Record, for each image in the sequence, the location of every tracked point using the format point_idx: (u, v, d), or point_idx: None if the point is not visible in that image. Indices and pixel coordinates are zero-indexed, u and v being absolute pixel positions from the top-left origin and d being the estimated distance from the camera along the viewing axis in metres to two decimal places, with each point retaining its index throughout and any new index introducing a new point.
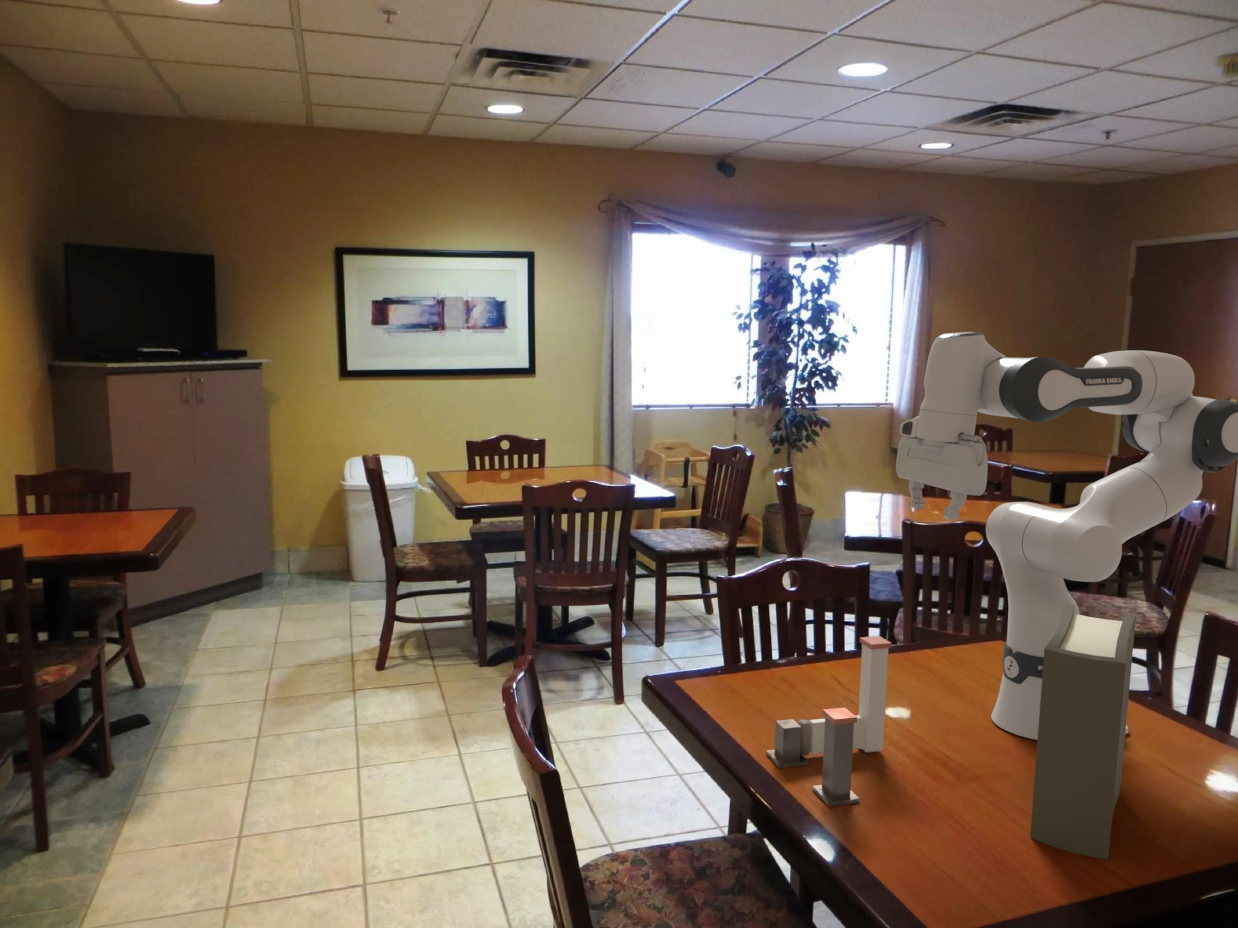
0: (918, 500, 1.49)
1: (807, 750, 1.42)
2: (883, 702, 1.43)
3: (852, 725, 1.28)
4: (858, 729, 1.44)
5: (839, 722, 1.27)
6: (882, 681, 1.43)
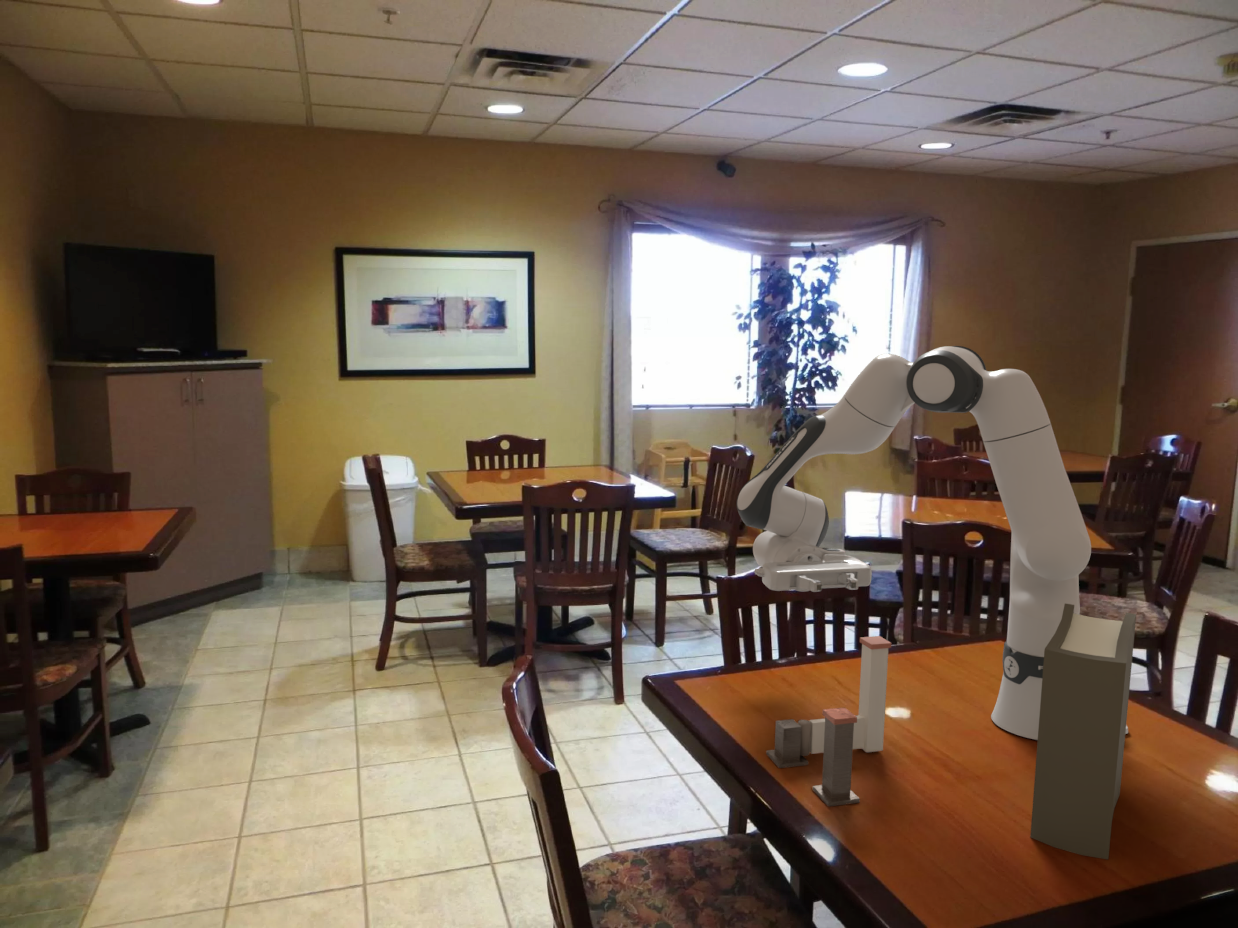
0: (846, 585, 1.58)
1: (807, 750, 1.42)
2: (883, 702, 1.43)
3: (852, 725, 1.28)
4: (858, 729, 1.44)
5: (839, 722, 1.27)
6: (882, 681, 1.43)
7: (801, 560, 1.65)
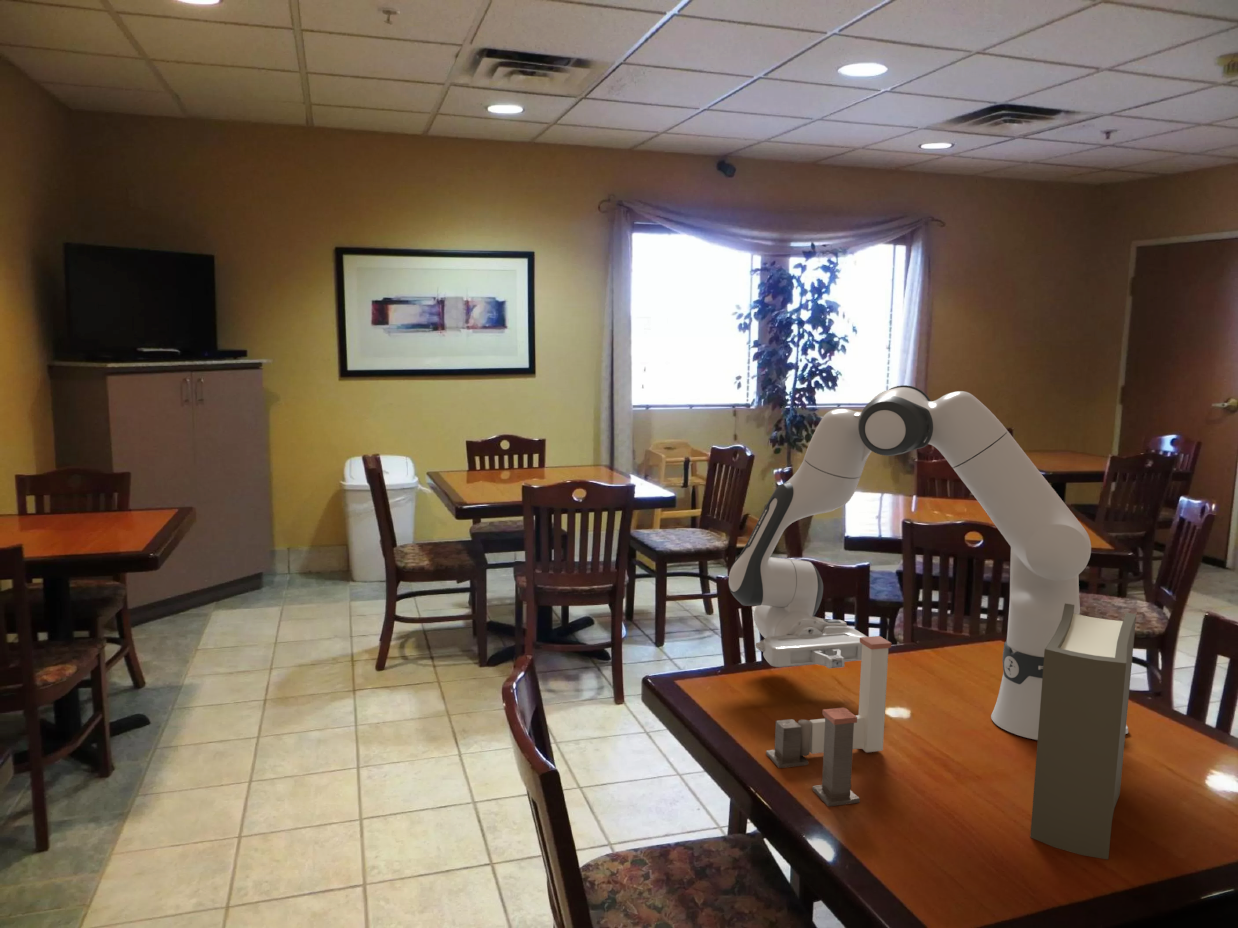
0: None
1: (807, 750, 1.42)
2: (883, 702, 1.43)
3: (852, 725, 1.28)
4: (858, 729, 1.44)
5: (839, 722, 1.27)
6: (882, 681, 1.43)
7: (802, 634, 1.65)
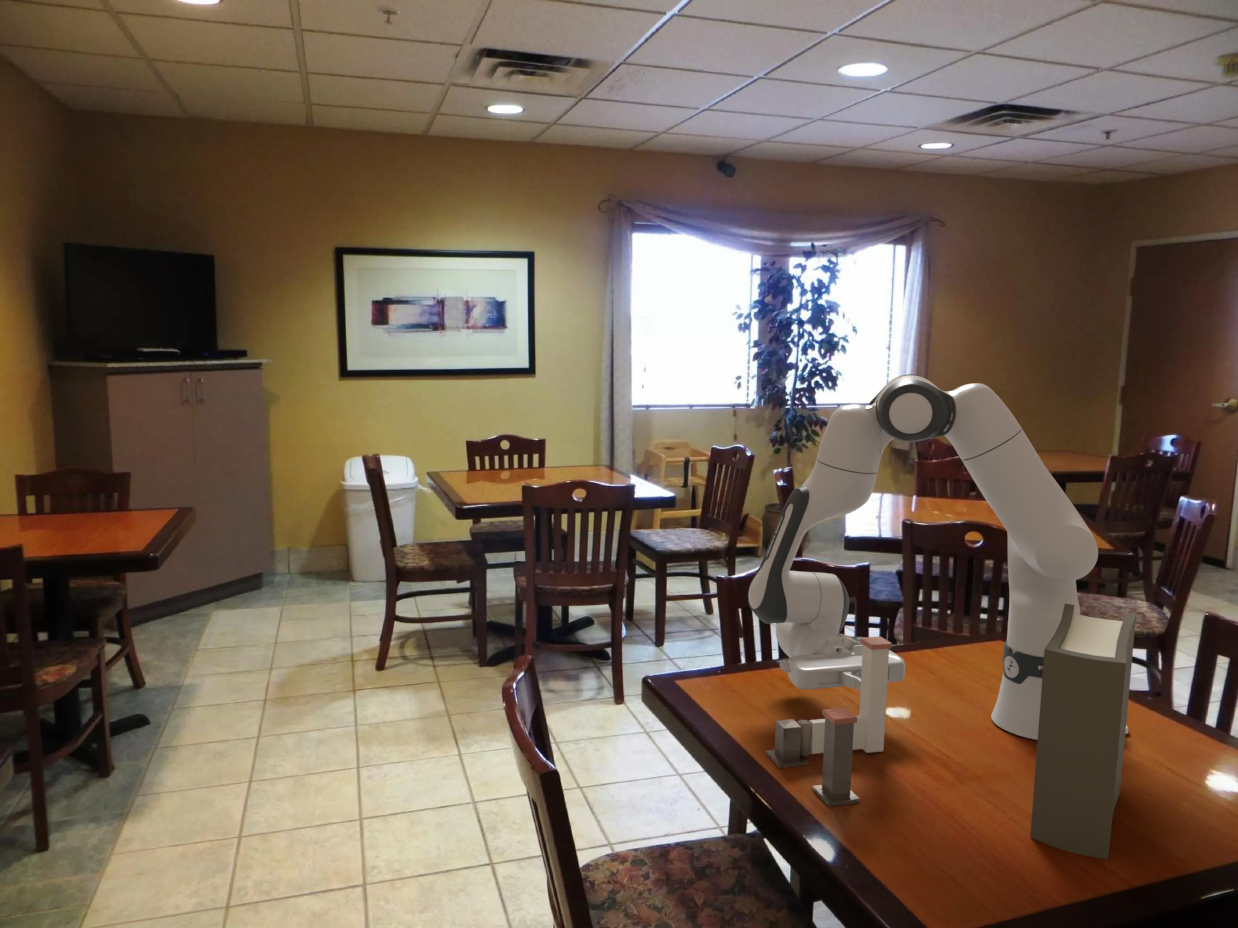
0: None
1: (807, 750, 1.42)
2: (884, 703, 1.43)
3: (852, 725, 1.28)
4: (858, 729, 1.44)
5: (839, 722, 1.27)
6: (883, 682, 1.43)
7: (829, 653, 1.55)
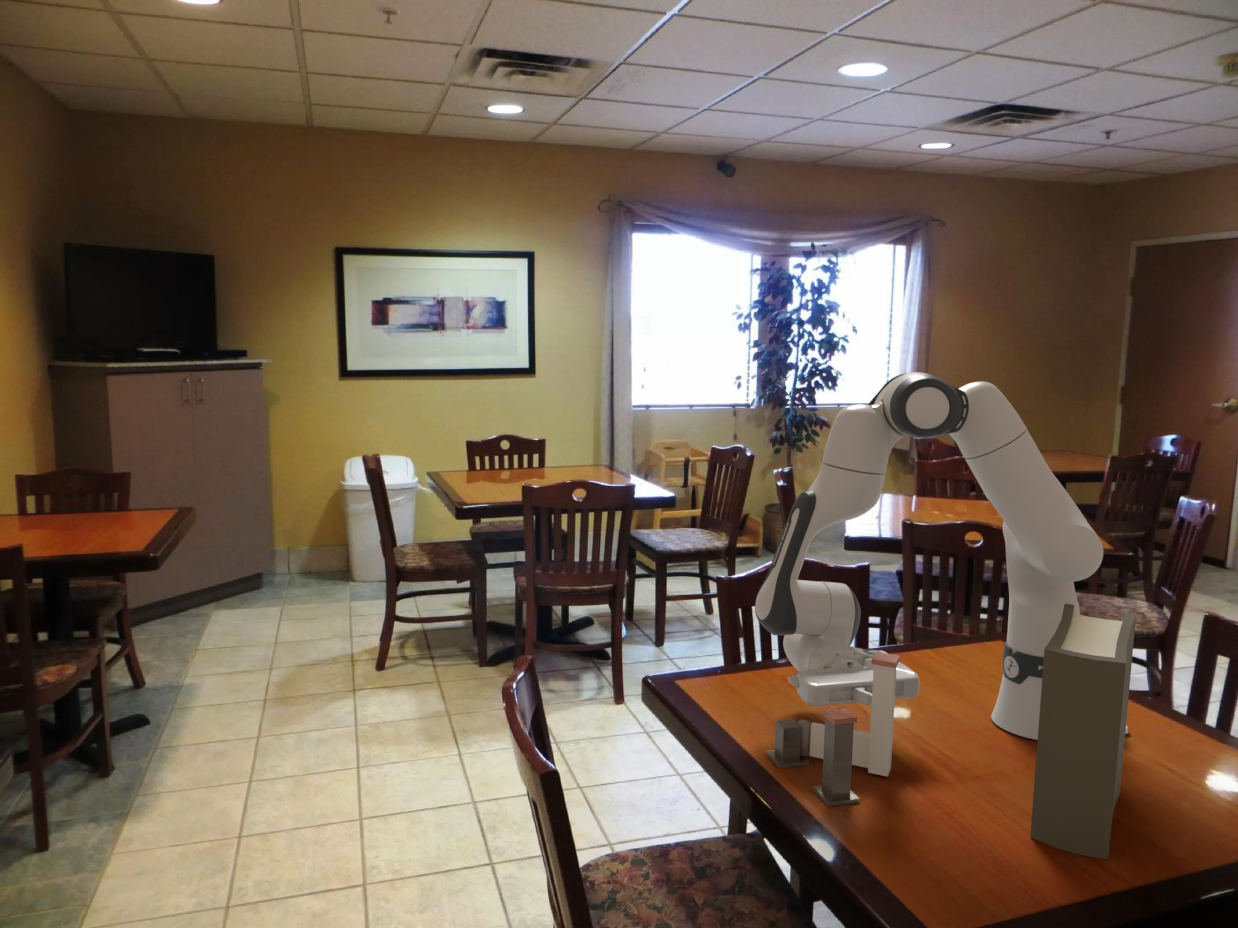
0: None
1: (803, 751, 1.42)
2: (888, 725, 1.35)
3: (852, 725, 1.28)
4: (862, 746, 1.38)
5: (839, 722, 1.27)
6: (887, 702, 1.34)
7: (840, 667, 1.48)
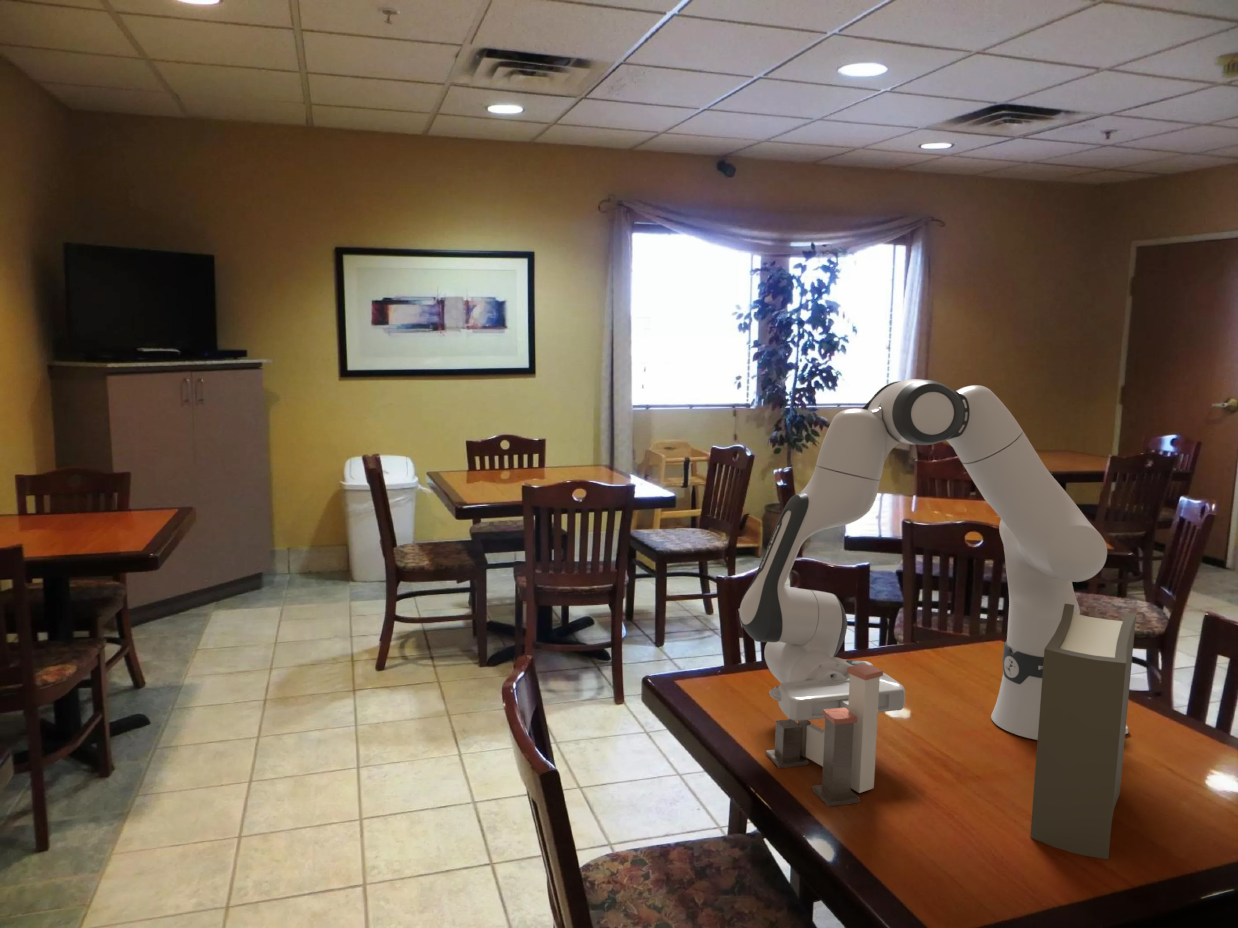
0: None
1: None
2: (860, 739, 1.30)
3: (852, 725, 1.28)
4: None
5: (839, 722, 1.27)
6: (859, 714, 1.30)
7: (823, 679, 1.42)
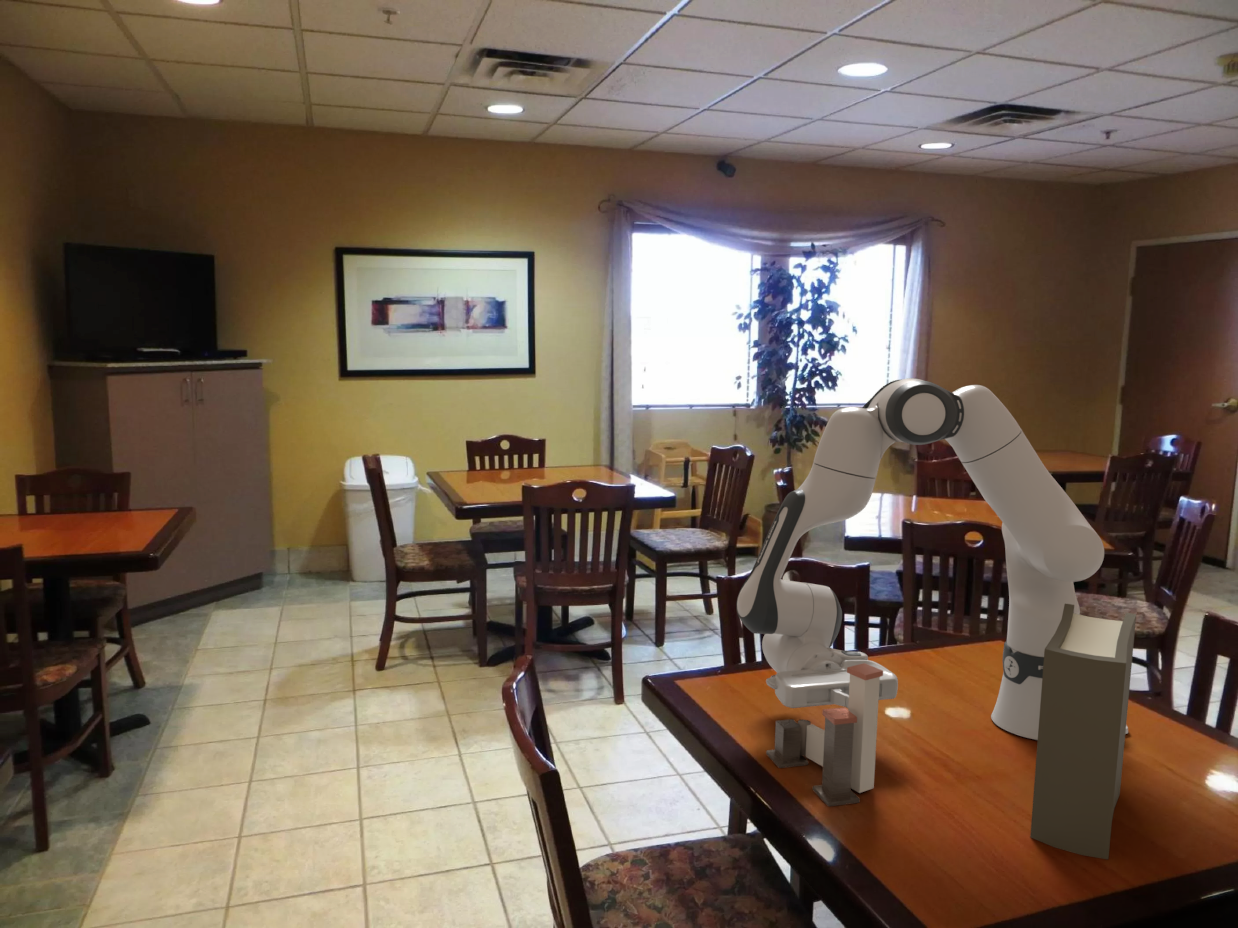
0: None
1: None
2: (860, 739, 1.30)
3: (852, 725, 1.28)
4: None
5: (839, 722, 1.27)
6: (859, 714, 1.30)
7: (818, 668, 1.47)
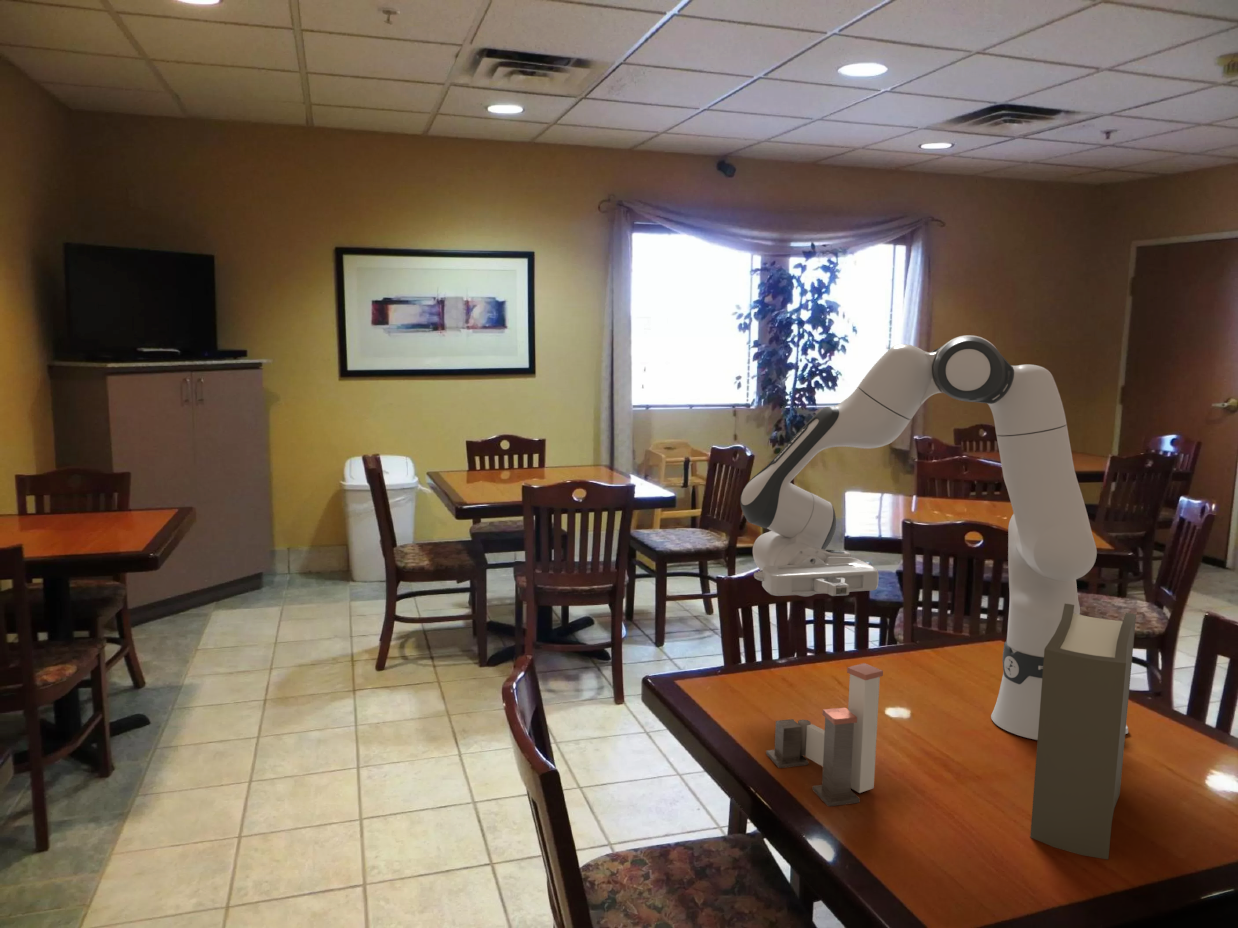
0: None
1: None
2: (860, 739, 1.30)
3: (852, 725, 1.28)
4: None
5: (839, 722, 1.27)
6: (859, 714, 1.30)
7: (803, 563, 1.55)
